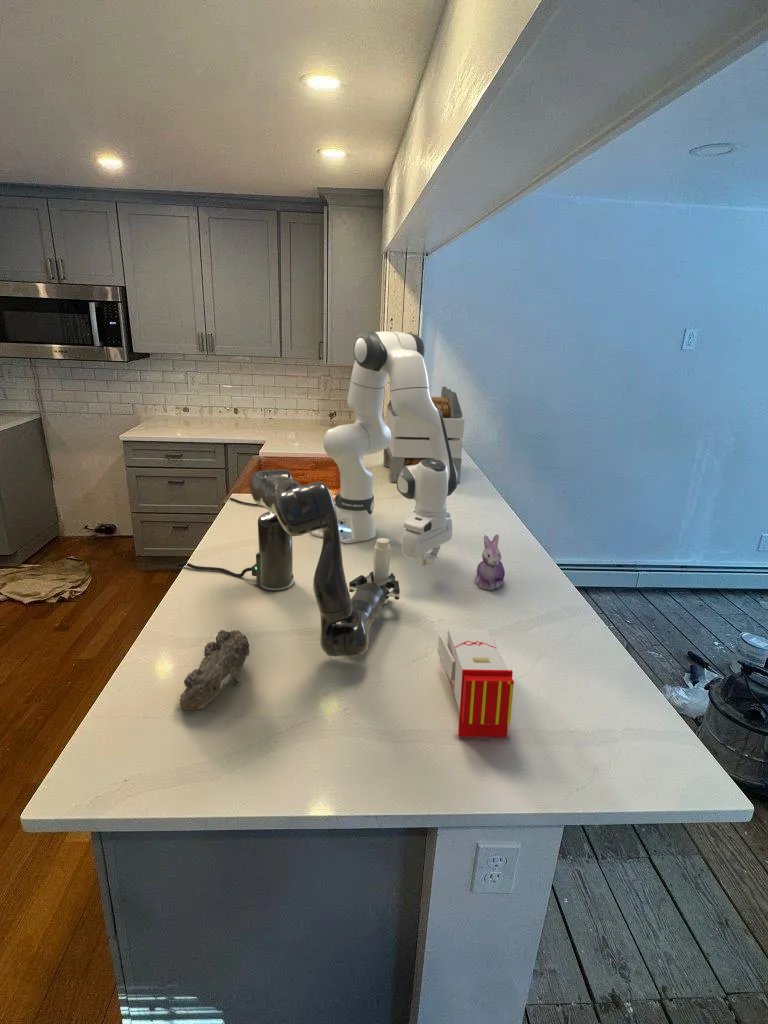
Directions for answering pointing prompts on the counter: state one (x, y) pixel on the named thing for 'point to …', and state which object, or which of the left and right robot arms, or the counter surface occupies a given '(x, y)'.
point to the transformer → (423, 436)
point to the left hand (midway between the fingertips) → (383, 575)
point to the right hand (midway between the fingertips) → (427, 562)
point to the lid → (429, 559)
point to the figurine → (490, 565)
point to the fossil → (215, 669)
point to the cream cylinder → (381, 561)
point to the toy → (478, 682)
